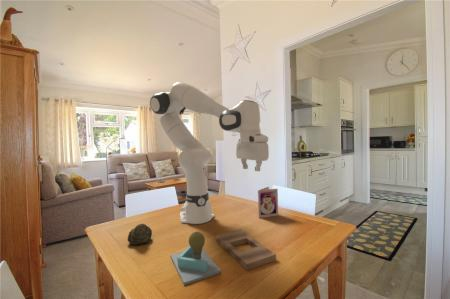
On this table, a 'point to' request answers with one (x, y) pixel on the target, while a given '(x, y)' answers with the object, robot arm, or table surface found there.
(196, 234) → the light bulb
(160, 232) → the table surface
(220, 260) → the table surface
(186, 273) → the V-block
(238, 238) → the wooden board with hole
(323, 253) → the table surface
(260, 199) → the greeting card
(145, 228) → the seashell
